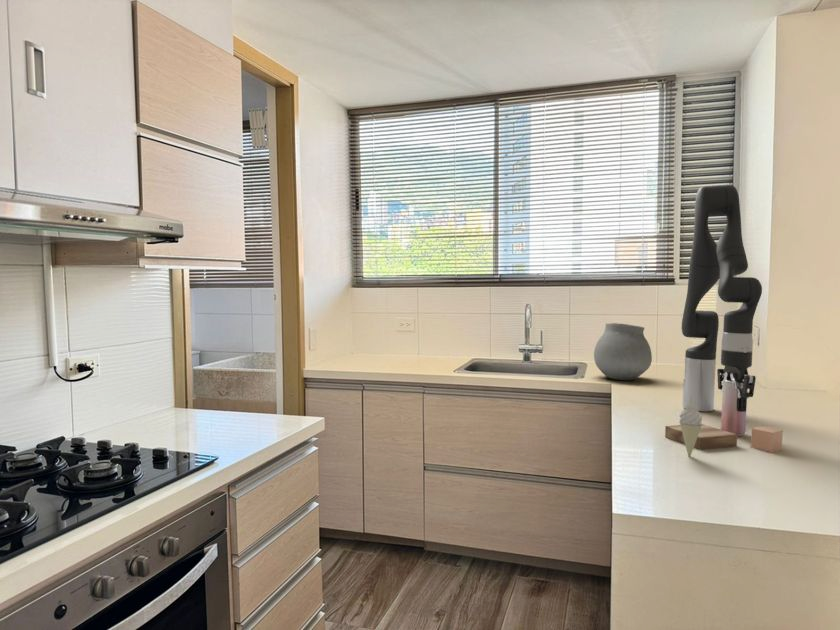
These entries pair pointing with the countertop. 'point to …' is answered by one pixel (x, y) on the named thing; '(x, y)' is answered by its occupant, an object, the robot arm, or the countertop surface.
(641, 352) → the ceramic pot
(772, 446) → the terracotta cube
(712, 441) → the pedestal
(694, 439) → the ice cream cone
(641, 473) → the countertop surface
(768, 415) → the countertop surface
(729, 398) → the beverage can
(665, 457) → the countertop surface
